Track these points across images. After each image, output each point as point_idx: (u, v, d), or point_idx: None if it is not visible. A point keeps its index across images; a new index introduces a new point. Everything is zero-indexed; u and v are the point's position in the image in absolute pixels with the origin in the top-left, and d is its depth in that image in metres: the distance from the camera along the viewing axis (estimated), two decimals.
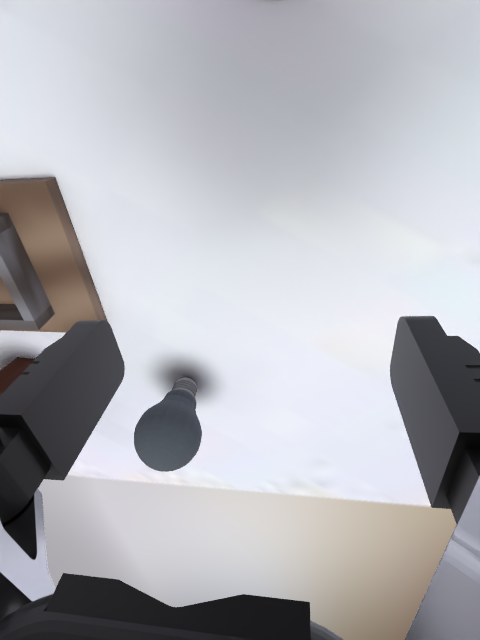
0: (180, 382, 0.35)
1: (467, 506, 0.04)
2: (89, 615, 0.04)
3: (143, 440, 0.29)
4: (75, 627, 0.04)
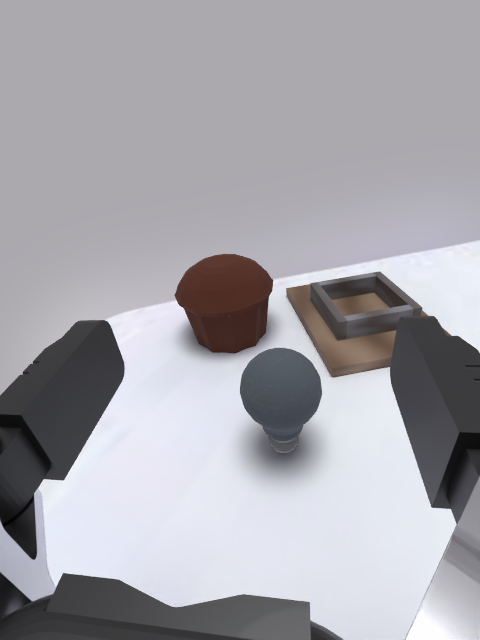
0: None
1: (467, 506, 0.04)
2: (89, 615, 0.04)
3: (300, 353, 0.26)
4: (75, 627, 0.04)
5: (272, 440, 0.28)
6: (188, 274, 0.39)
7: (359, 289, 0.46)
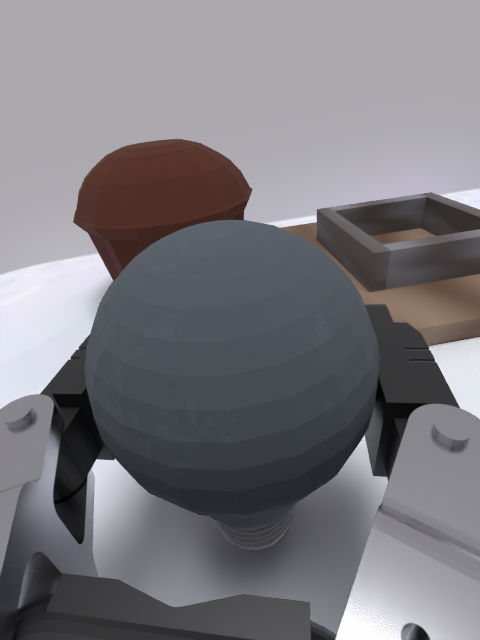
0: None
1: (391, 475, 0.05)
2: (89, 615, 0.04)
3: None
4: (75, 627, 0.04)
5: None
6: None
7: (397, 221, 0.28)
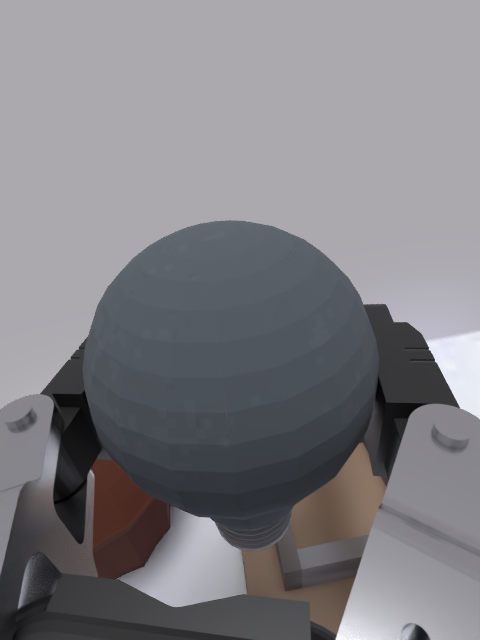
0: None
1: (391, 475, 0.05)
2: (89, 615, 0.04)
3: None
4: (75, 627, 0.04)
5: None
6: None
7: None
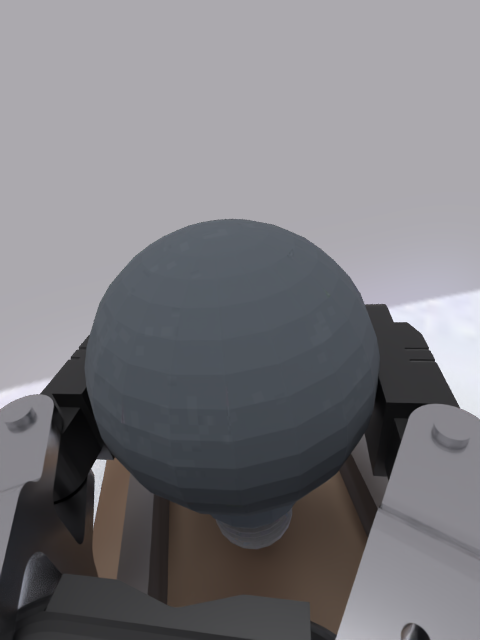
0: None
1: (391, 475, 0.05)
2: (89, 615, 0.04)
3: None
4: (75, 627, 0.04)
5: None
6: None
7: None
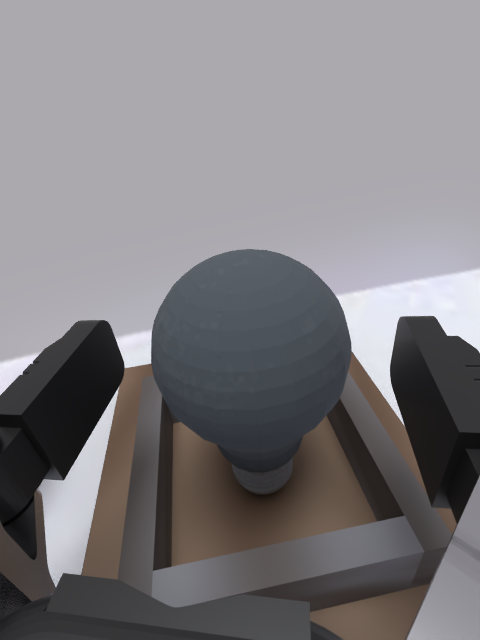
0: None
1: (467, 506, 0.04)
2: (89, 615, 0.04)
3: None
4: (75, 627, 0.04)
5: (236, 467, 0.13)
6: None
7: None
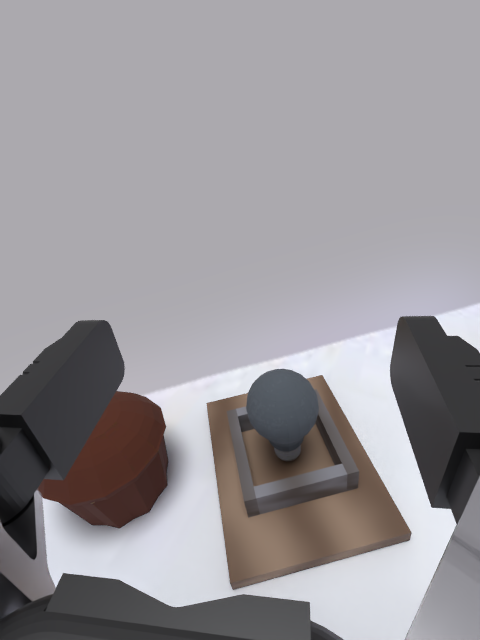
0: None
1: (467, 506, 0.04)
2: (89, 615, 0.04)
3: (298, 373, 0.29)
4: (75, 627, 0.04)
5: (277, 450, 0.31)
6: None
7: None
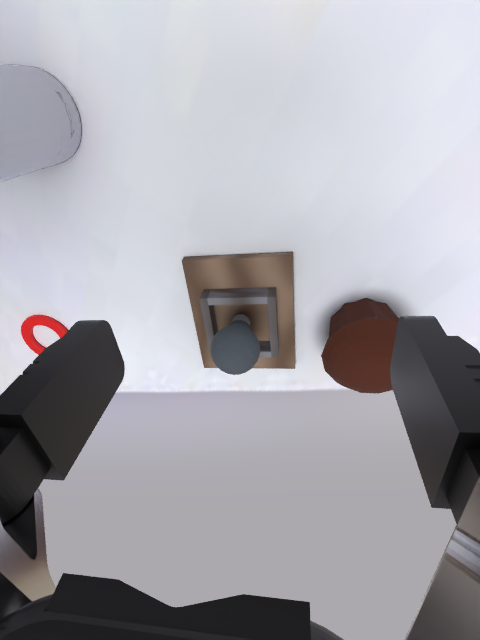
0: None
1: (467, 506, 0.04)
2: (89, 615, 0.04)
3: (218, 367, 0.41)
4: (75, 627, 0.04)
5: (247, 322, 0.46)
6: None
7: None
